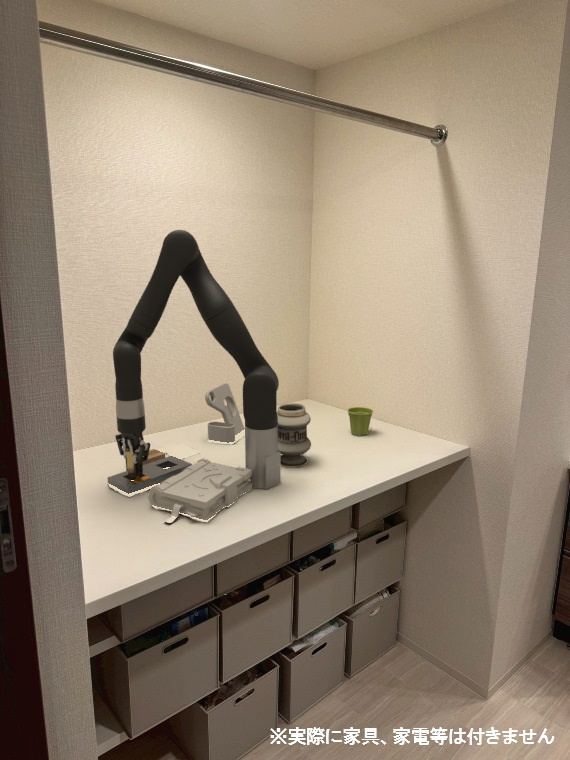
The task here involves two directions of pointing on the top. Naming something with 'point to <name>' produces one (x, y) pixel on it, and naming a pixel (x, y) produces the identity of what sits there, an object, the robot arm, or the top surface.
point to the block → (154, 456)
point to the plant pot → (359, 420)
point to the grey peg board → (149, 474)
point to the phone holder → (224, 415)
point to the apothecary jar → (293, 434)
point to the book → (201, 489)
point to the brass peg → (131, 466)
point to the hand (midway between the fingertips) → (134, 472)
